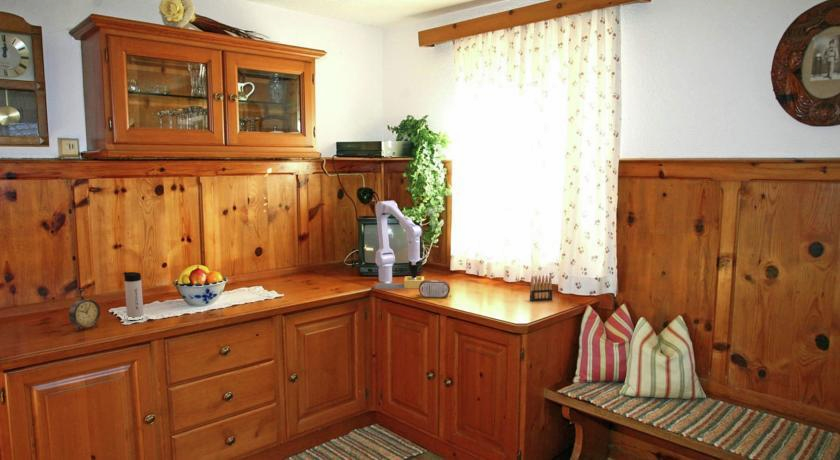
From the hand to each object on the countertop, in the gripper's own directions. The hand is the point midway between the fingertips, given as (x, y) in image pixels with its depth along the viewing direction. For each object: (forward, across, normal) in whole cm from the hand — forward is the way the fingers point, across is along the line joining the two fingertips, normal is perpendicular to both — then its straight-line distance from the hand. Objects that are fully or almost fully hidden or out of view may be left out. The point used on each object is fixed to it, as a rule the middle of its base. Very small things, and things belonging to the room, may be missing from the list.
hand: (414, 276), depth 298 cm
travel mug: (+7, -54, +116) cm, 128 cm away
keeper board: (+7, +4, +7) cm, 11 cm away
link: (+6, +4, 0) cm, 7 cm away
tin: (+7, -16, -10) cm, 20 cm away
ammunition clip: (+7, -22, -60) cm, 64 cm away
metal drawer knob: (+6, +4, 0) cm, 7 cm away
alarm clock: (+7, -68, +129) cm, 146 cm away
